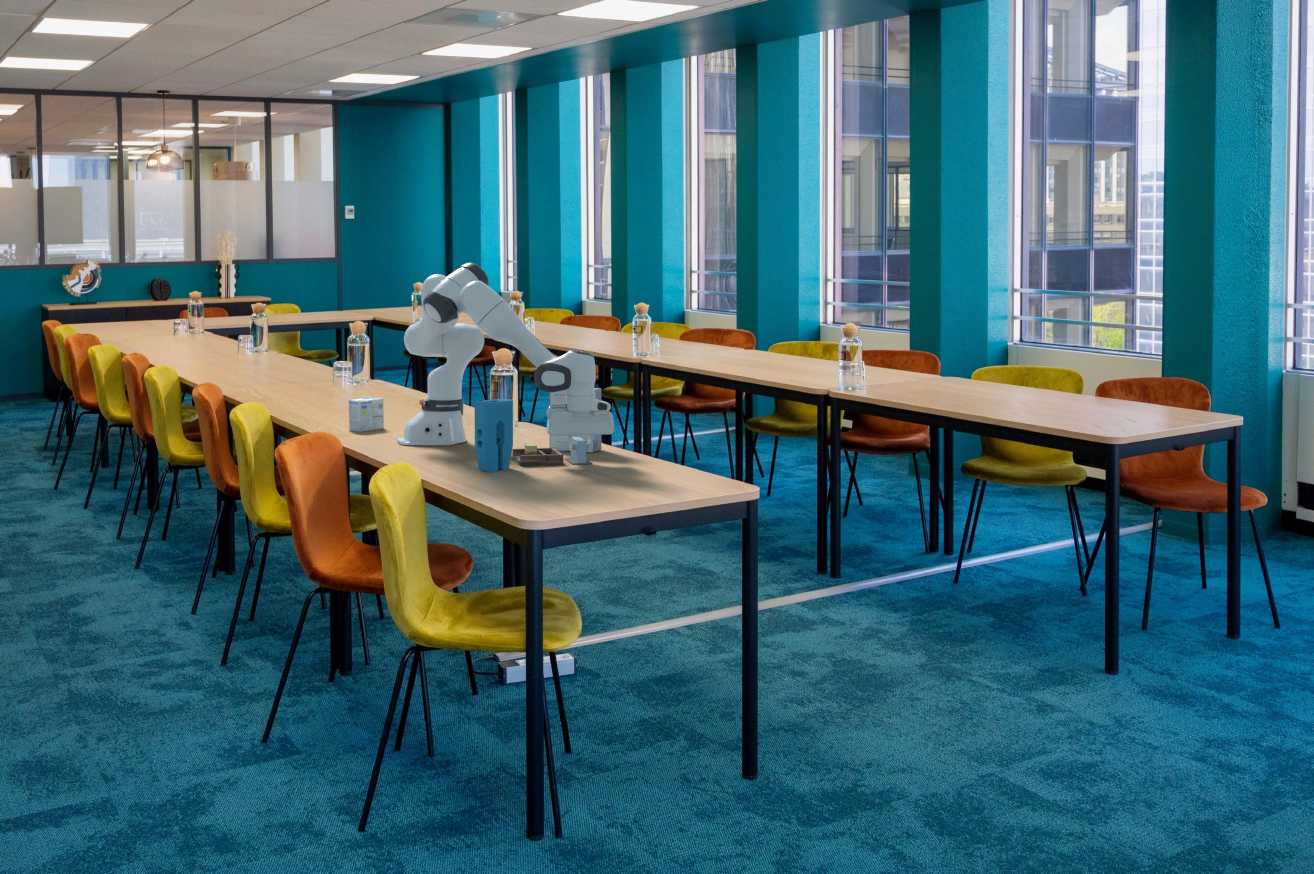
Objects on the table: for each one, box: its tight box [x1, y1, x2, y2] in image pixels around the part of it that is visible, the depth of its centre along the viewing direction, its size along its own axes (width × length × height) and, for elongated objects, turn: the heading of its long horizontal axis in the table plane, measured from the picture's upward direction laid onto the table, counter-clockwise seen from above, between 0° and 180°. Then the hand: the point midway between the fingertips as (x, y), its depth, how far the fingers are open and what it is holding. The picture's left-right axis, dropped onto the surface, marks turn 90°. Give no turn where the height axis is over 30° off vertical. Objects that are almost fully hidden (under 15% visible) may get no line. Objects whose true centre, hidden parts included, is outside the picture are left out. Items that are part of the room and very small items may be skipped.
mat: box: [564, 457, 593, 466], centre depth 380 cm, size 6×10×1 cm, turn 17°
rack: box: [511, 447, 565, 467], centre depth 379 cm, size 13×13×3 cm
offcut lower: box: [525, 450, 537, 455], centre depth 381 cm, size 3×4×2 cm
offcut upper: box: [524, 443, 538, 452], centre depth 380 cm, size 3×4×2 cm
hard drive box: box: [548, 387, 603, 454], centre depth 400 cm, size 16×8×20 cm, turn 71°
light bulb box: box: [348, 396, 385, 433], centre depth 437 cm, size 11×7×11 cm, turn 144°
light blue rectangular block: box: [570, 437, 587, 463], centre depth 379 cm, size 3×9×6 cm, turn 17°
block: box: [474, 398, 514, 473], centre depth 364 cm, size 12×5×20 cm, turn 144°
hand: (580, 449), depth 377 cm, fingers open, 3 cm apart
